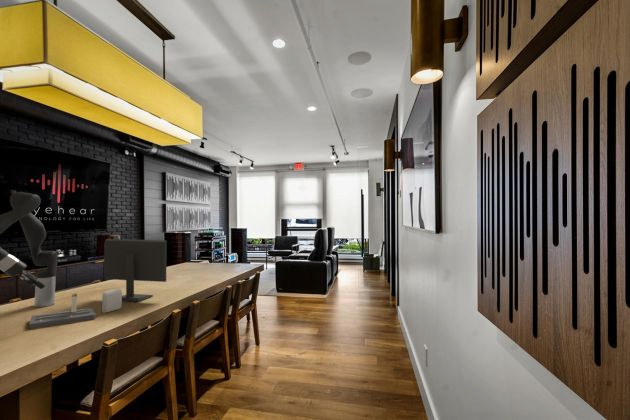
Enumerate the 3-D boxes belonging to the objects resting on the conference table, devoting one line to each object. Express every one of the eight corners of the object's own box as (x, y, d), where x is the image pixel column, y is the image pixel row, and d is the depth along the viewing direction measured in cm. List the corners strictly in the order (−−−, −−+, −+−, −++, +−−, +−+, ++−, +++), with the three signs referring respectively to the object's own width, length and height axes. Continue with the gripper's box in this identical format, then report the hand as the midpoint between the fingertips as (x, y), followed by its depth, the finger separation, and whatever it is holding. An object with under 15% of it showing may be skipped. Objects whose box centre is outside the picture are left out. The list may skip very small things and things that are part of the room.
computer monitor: (170, 297, 213) (172, 239, 214) (156, 303, 197) (158, 241, 198) (112, 294, 217) (115, 238, 219) (94, 300, 201) (96, 239, 203)
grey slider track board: (31, 320, 161) (31, 313, 161) (92, 311, 177) (92, 305, 177) (29, 329, 148) (29, 322, 148) (94, 319, 165) (95, 312, 165)
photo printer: (105, 313, 175) (105, 291, 175) (100, 312, 177) (101, 290, 177) (122, 308, 184) (123, 288, 185) (118, 307, 186) (119, 287, 186)
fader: (70, 313, 166) (70, 294, 166) (77, 312, 168) (77, 293, 168) (70, 314, 163) (71, 295, 163) (77, 313, 165) (78, 294, 165)
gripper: (17, 261, 147) (50, 283, 154) (20, 258, 157) (50, 279, 164) (1, 273, 143) (35, 296, 151) (5, 269, 153) (36, 290, 161)
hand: (43, 287), depth 158 cm, fingers closed
